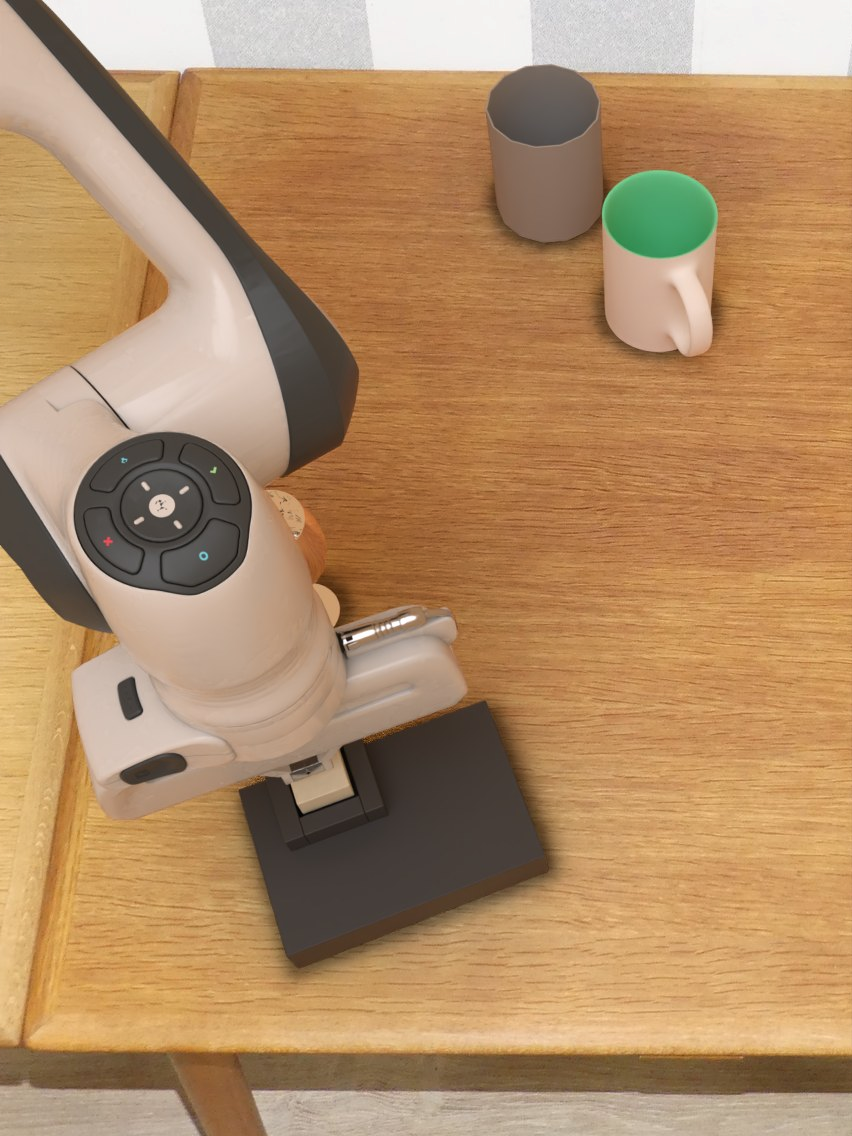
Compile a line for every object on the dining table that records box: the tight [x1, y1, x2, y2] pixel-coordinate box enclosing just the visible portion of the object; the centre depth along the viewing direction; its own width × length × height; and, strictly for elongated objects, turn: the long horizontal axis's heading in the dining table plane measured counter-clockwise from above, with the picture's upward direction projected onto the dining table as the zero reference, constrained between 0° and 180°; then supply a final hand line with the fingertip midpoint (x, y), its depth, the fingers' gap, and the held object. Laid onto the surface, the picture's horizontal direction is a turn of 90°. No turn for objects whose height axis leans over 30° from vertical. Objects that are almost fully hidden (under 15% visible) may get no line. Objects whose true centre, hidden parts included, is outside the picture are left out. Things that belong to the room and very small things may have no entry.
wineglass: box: [265, 489, 341, 628], centre depth 91 cm, size 6×6×12 cm
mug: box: [601, 169, 719, 358], centre depth 103 cm, size 12×8×10 cm, turn 26°
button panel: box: [238, 699, 549, 970], centre depth 88 cm, size 12×16×5 cm
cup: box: [484, 63, 604, 243], centre depth 109 cm, size 8×8×10 cm
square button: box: [291, 749, 354, 814], centre depth 86 cm, size 3×3×2 cm
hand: (307, 765), depth 84 cm, fingers closed
